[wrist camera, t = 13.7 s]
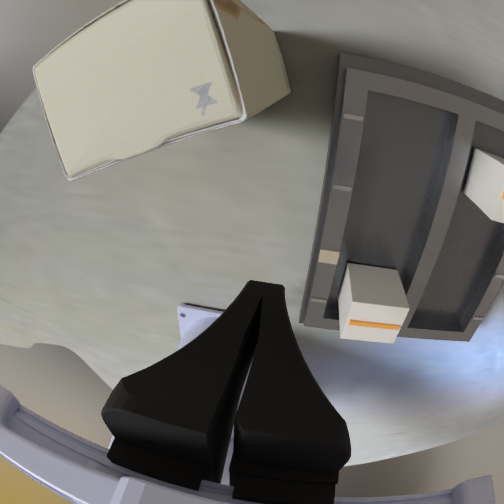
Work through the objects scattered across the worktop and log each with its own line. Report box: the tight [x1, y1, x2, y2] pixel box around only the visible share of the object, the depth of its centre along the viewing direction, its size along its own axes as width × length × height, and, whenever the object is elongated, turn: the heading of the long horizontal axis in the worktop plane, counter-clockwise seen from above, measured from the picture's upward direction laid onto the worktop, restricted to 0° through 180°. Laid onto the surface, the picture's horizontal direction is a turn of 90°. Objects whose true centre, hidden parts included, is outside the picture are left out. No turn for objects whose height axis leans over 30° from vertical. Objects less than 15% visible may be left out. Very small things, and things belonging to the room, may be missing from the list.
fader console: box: [299, 53, 504, 341], centre depth 18 cm, size 19×15×2 cm
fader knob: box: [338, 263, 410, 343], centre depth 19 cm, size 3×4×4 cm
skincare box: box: [33, 0, 291, 181], centre depth 12 cm, size 6×4×12 cm
